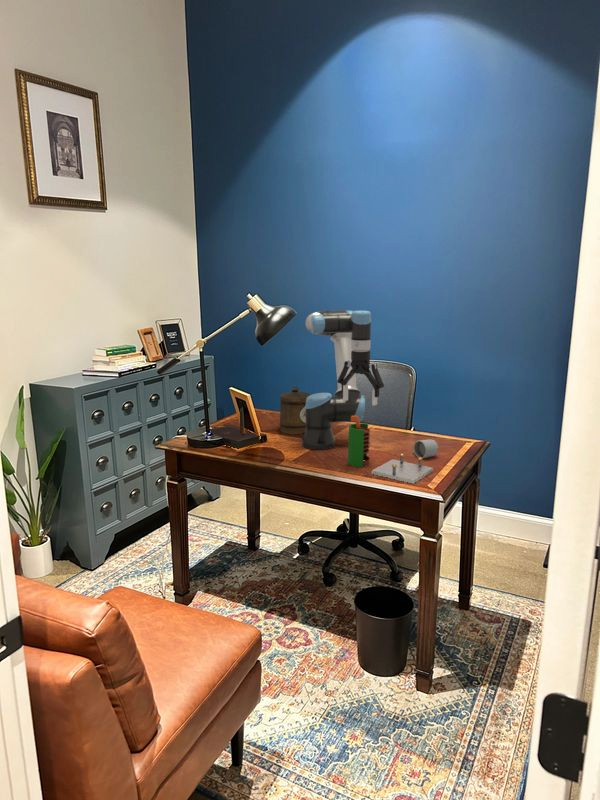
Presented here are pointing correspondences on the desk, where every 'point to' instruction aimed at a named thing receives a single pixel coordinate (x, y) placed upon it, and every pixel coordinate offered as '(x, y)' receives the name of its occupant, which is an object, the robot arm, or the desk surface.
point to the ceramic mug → (425, 448)
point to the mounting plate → (403, 470)
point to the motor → (358, 443)
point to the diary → (237, 436)
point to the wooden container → (293, 411)
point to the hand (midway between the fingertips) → (359, 402)
